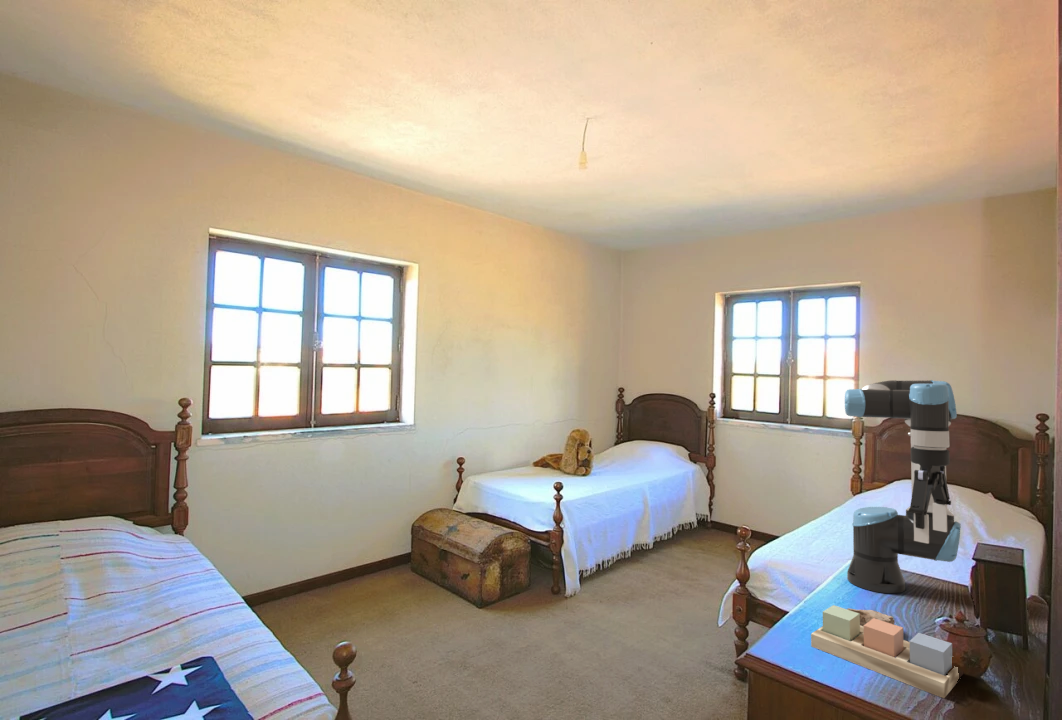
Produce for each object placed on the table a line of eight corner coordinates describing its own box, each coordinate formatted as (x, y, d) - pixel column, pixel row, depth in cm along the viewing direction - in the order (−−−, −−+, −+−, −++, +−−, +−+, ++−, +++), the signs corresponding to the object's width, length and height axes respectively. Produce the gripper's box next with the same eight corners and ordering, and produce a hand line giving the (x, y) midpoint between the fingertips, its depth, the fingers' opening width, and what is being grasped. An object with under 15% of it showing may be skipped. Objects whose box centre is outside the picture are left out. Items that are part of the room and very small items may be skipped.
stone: (885, 641, 130) (885, 621, 130) (839, 622, 140) (838, 603, 140) (904, 633, 135) (904, 613, 135) (858, 615, 145) (858, 597, 145)
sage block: (833, 625, 133) (833, 605, 133) (859, 634, 128) (859, 613, 129) (822, 632, 130) (822, 611, 130) (849, 642, 125) (849, 620, 125)
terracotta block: (873, 639, 126) (873, 618, 126) (903, 649, 121) (903, 627, 122) (863, 647, 122) (863, 625, 123) (894, 658, 118) (893, 635, 118)
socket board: (836, 629, 136) (836, 617, 136) (963, 674, 116) (963, 660, 116) (811, 646, 128) (811, 633, 128) (944, 698, 107) (943, 683, 107)
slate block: (919, 655, 119) (918, 632, 119) (952, 666, 114) (952, 643, 114) (909, 664, 115) (909, 641, 115) (943, 676, 111) (943, 652, 111)
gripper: (927, 441, 139) (929, 523, 138) (892, 450, 123) (893, 542, 123) (964, 444, 133) (965, 530, 132) (931, 454, 117) (933, 551, 117)
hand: (931, 536), depth 128 cm, fingers open, 13 cm apart
